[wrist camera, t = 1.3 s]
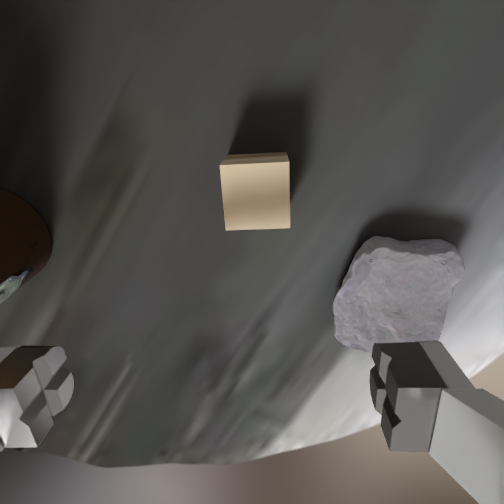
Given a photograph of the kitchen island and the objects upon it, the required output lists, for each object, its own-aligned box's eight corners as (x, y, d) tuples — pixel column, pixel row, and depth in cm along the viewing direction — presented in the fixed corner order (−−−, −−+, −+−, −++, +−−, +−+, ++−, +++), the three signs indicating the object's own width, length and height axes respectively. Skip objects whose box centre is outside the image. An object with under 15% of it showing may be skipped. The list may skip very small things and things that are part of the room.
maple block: (227, 154, 29) (219, 165, 25) (286, 151, 29) (289, 161, 24) (232, 211, 31) (225, 230, 27) (287, 209, 31) (290, 228, 26)
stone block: (326, 323, 38) (422, 344, 36) (324, 350, 34) (433, 374, 32) (347, 221, 33) (458, 238, 31) (347, 236, 29) (476, 257, 27)
